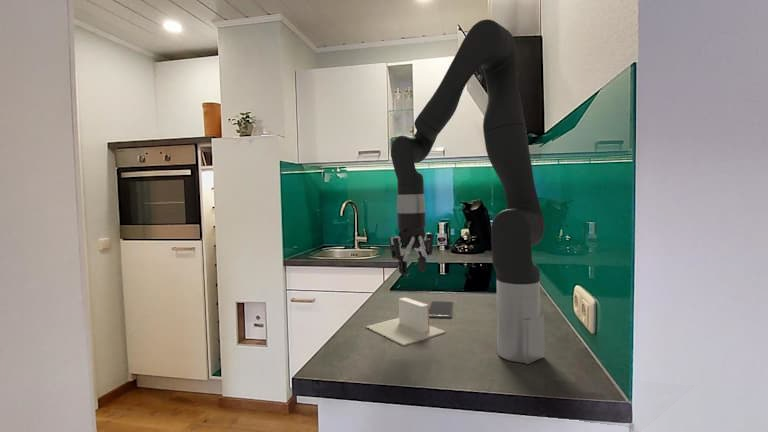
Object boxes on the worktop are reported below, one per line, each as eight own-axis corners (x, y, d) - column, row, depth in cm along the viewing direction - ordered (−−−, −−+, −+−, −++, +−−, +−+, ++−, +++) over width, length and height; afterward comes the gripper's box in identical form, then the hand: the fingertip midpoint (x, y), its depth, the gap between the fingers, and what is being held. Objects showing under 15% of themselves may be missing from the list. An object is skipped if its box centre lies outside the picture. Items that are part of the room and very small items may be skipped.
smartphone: (453, 301, 133) (451, 315, 117) (453, 304, 133) (451, 319, 117) (431, 300, 134) (426, 314, 119) (431, 304, 135) (426, 318, 119)
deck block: (429, 330, 107) (428, 304, 106) (422, 332, 105) (421, 306, 105) (406, 321, 115) (405, 297, 114) (399, 323, 113) (398, 298, 113)
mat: (445, 332, 106) (445, 331, 106) (403, 346, 98) (403, 344, 98) (405, 317, 120) (405, 315, 120) (366, 327, 112) (366, 326, 112)
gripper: (398, 213, 101) (400, 279, 102) (440, 210, 109) (441, 271, 110) (381, 212, 107) (383, 274, 108) (422, 209, 115) (423, 267, 116)
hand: (412, 272), depth 109 cm, fingers open, 5 cm apart
